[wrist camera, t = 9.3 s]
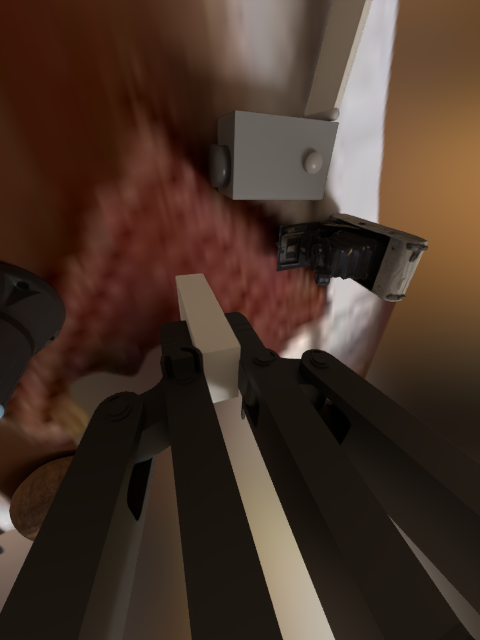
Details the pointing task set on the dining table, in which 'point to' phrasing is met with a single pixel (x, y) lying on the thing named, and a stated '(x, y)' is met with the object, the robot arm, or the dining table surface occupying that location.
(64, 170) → the dining table surface
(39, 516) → the bread
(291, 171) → the cabinet with round knob
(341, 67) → the side door
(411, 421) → the robot arm
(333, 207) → the dining table surface
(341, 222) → the vintage camera
